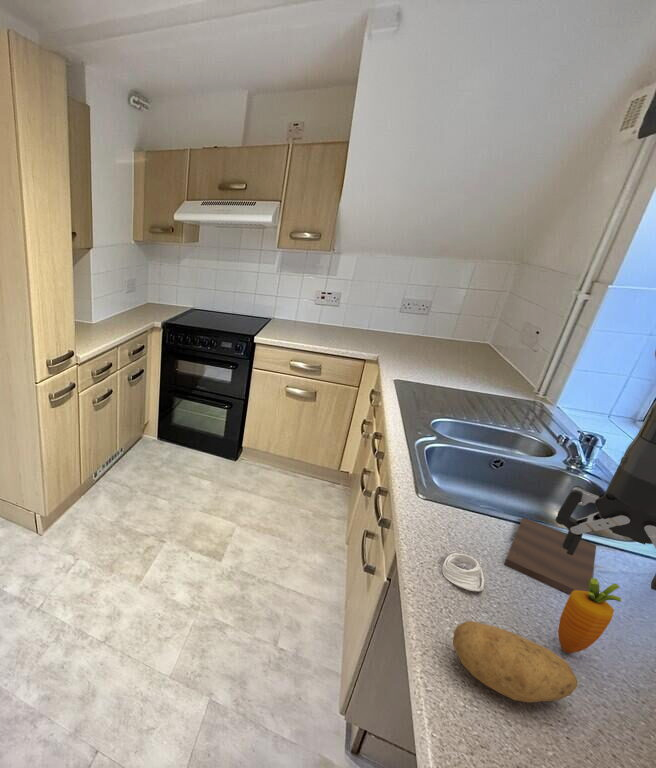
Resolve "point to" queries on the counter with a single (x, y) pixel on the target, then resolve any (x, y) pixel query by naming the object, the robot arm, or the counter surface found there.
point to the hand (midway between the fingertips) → (609, 568)
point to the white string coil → (463, 572)
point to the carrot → (585, 617)
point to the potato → (512, 663)
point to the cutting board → (551, 557)
